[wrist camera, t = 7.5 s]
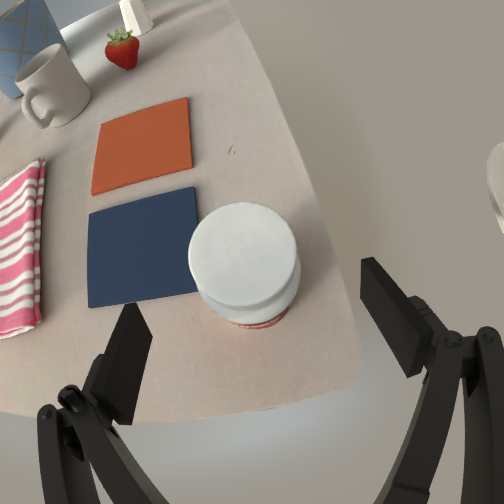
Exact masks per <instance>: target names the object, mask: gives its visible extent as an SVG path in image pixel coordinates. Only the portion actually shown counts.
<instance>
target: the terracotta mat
mask: <svg viewBox="0 0 504 504" xmlns="http://www.w3.org/2000/svg"><path fill="white" fill-rule="evenodd" d="M190 168H193V161H192V149H191V136H190V121H189V105H188V97H185V98H181V99H177V100H174V101H170V102H166V103H163V104H159V105H156V106H153V107H149V108H146V109H143V110H140V111H137V112H134V113H131V114H128V115H125V116H122V117H119V118H117V119H114V120H111V121H108V122H106V123H103V124H101V128H100V134H99V139H98V145H97V151H96V157H95V164H94V171H93V179H92V188H91V194H92V195H93V196H94V195H97V194H100V193H103V192H106V191H109V190H113V189H116V188H119V187H123V186H126V185H129V184H133V183H136V182H140V181H143V180H147V179H151V178H154V177H158V176H162V175H166V174H170V173H174V172H178V171H182V170H186V169H190Z"/></svg>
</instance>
